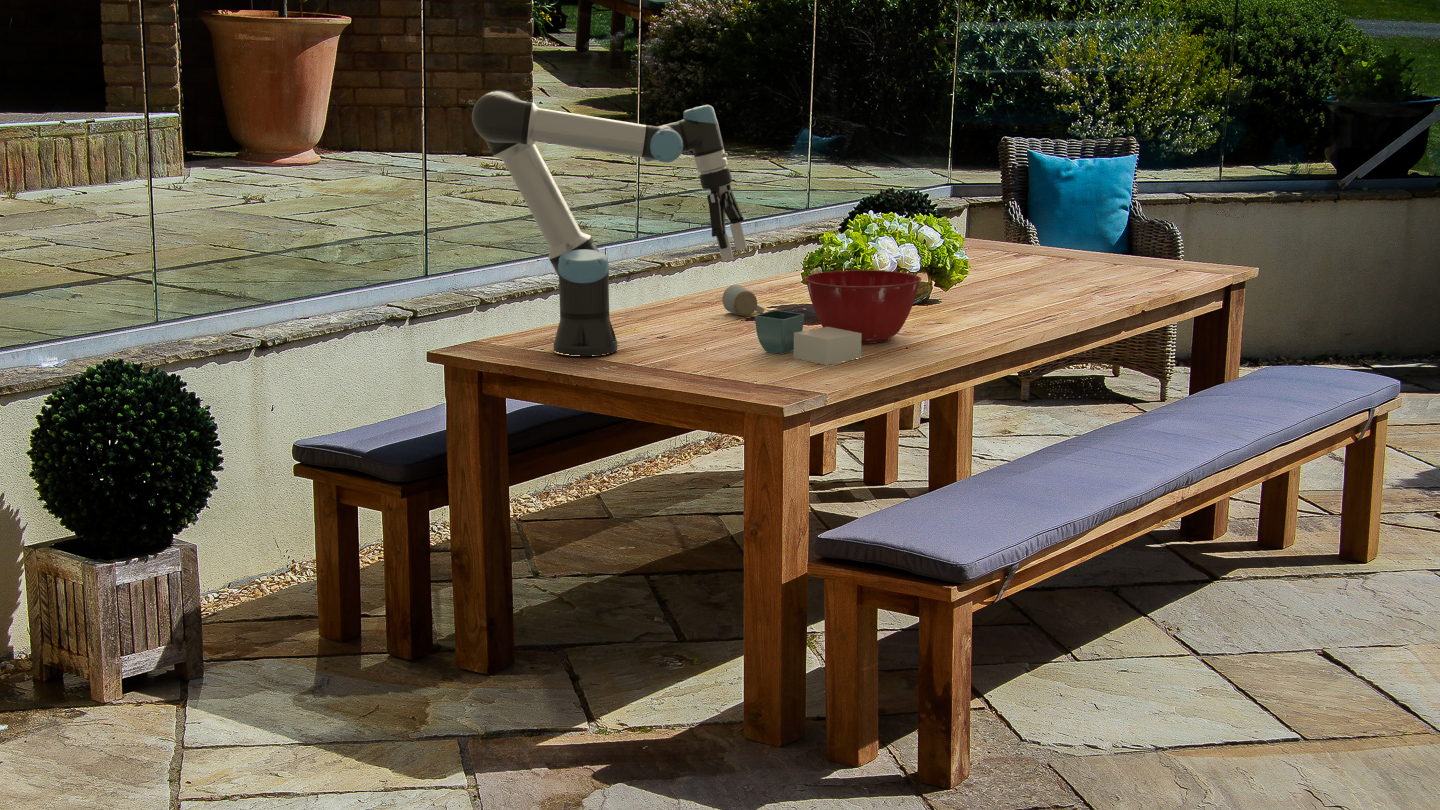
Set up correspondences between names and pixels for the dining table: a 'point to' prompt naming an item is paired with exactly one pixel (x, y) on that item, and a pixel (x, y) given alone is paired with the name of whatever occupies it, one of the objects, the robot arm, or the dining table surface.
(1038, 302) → the dining table surface
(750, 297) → the ceramic mug
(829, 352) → the stone block
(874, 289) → the mixing bowl
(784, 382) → the dining table surface
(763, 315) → the flower pot
